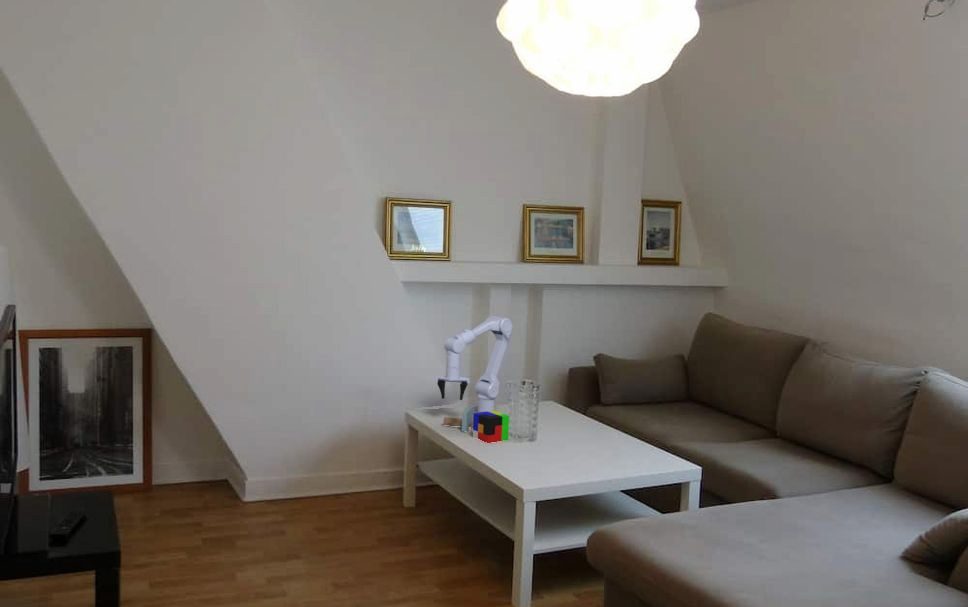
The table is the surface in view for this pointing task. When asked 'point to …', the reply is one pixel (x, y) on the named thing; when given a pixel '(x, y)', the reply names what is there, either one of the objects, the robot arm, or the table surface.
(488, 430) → the puzzle toy
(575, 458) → the table surface
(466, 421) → the teal slotted plate
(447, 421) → the walnut slotted plate
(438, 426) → the table surface
